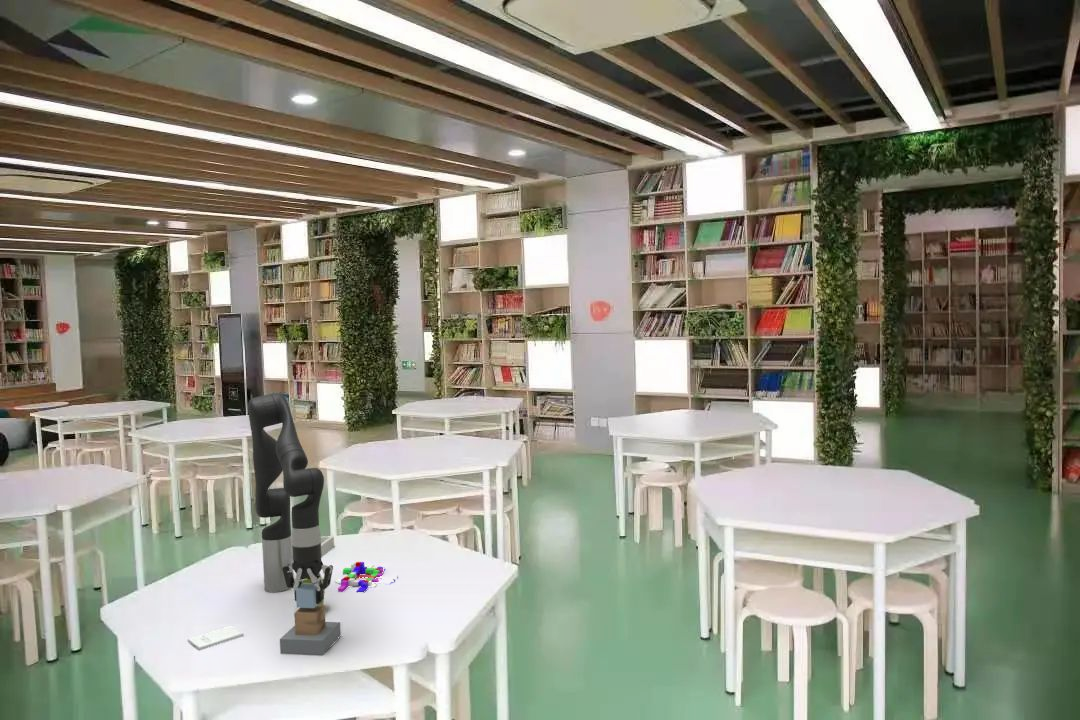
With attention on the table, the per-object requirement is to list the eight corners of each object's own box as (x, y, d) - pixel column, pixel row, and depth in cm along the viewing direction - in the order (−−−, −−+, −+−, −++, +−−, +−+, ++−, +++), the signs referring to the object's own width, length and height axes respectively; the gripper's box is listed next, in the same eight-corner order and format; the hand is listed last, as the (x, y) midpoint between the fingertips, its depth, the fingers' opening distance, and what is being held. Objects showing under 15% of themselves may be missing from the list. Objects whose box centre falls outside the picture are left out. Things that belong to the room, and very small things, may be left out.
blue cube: (304, 600, 214) (304, 582, 213) (321, 601, 213) (321, 583, 212) (296, 607, 209) (295, 589, 208) (314, 608, 208) (313, 590, 208)
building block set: (385, 594, 249) (384, 581, 249) (324, 593, 251) (323, 580, 251) (407, 568, 274) (407, 556, 273) (352, 567, 276) (351, 555, 276)
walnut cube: (305, 625, 215) (304, 604, 214) (325, 626, 214) (324, 605, 213) (295, 634, 209) (294, 613, 208) (316, 635, 208) (315, 613, 207)
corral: (291, 545, 302) (291, 535, 302) (334, 546, 299) (333, 536, 299) (270, 560, 285) (269, 549, 284) (314, 561, 282) (314, 550, 282)
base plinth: (300, 634, 218) (299, 620, 218) (340, 636, 217) (340, 622, 216) (280, 653, 206) (279, 638, 206) (322, 655, 205) (322, 640, 204)
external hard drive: (243, 638, 218) (199, 652, 210) (231, 630, 224) (187, 643, 215) (243, 632, 218) (198, 646, 210) (231, 624, 224) (187, 638, 215)
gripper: (337, 538, 212) (339, 598, 213) (288, 537, 214) (290, 596, 215) (325, 546, 205) (328, 608, 206) (275, 545, 207) (278, 607, 208)
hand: (309, 602), depth 211 cm, fingers closed on blue cube, 5 cm apart
